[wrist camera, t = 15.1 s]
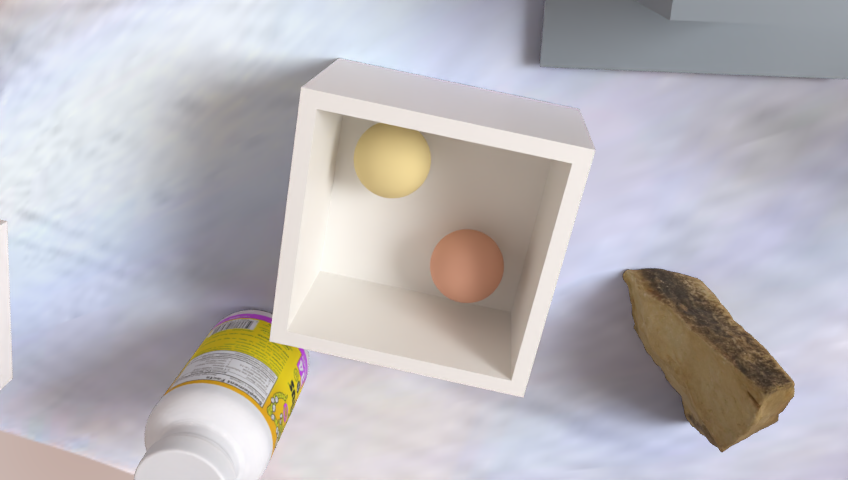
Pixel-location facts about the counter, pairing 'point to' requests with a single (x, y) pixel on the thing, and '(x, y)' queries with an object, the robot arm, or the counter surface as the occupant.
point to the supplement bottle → (225, 405)
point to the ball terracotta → (466, 266)
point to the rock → (707, 356)
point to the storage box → (426, 225)
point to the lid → (699, 36)
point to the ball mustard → (392, 160)
